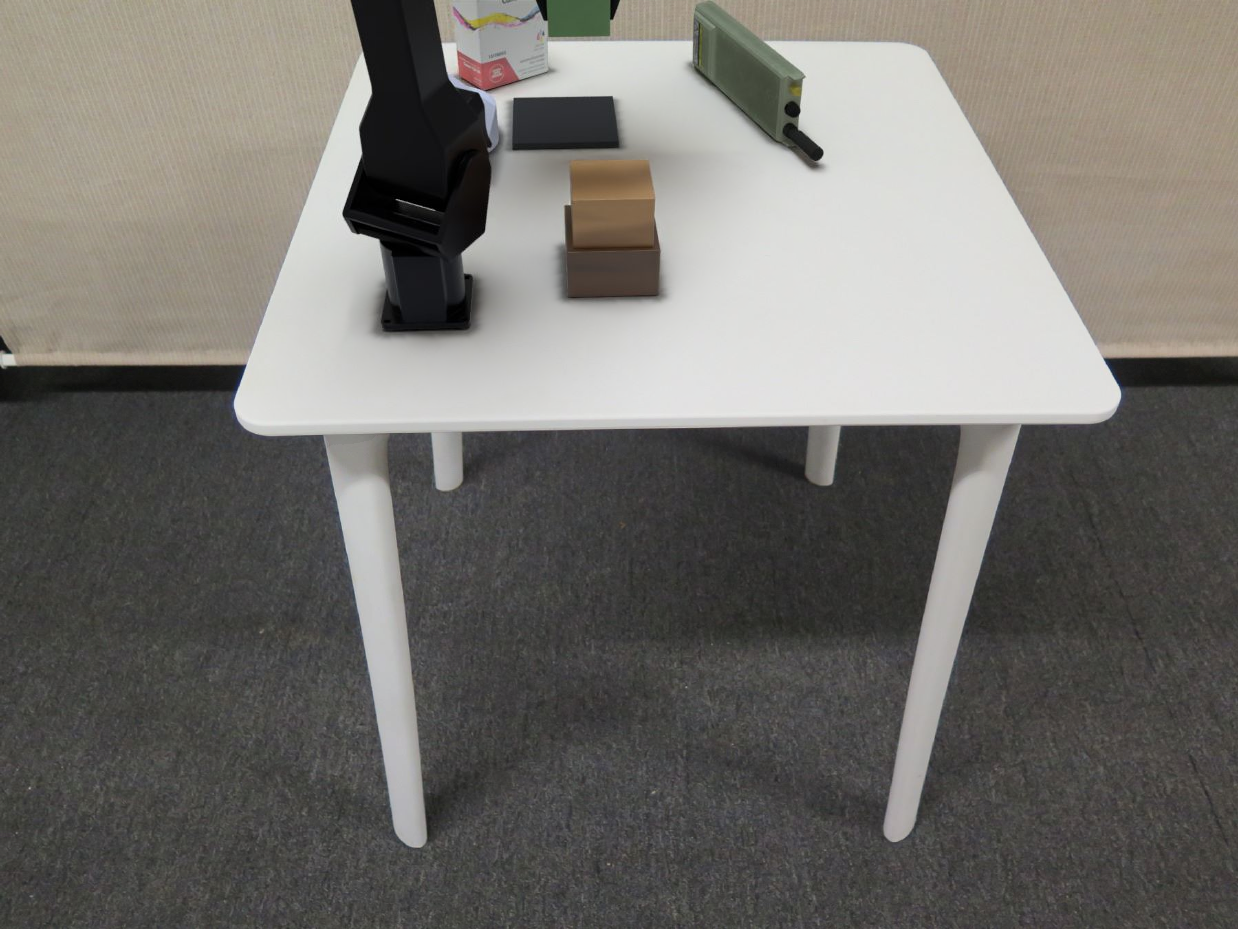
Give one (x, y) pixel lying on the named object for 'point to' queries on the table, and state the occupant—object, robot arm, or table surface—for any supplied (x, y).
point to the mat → (564, 122)
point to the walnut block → (611, 268)
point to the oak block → (612, 203)
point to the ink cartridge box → (499, 41)
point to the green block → (578, 18)
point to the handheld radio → (751, 75)
